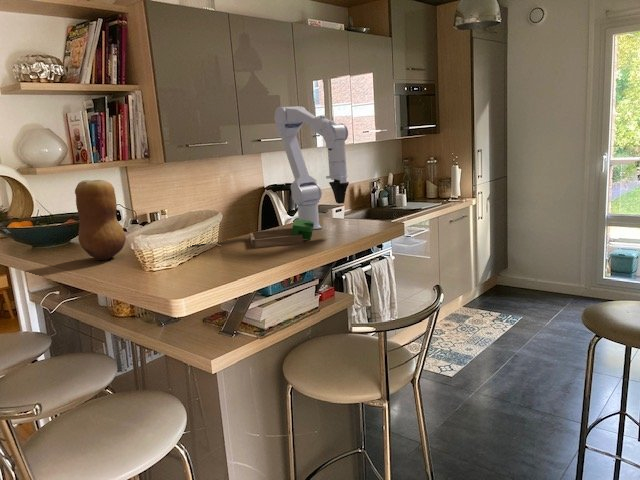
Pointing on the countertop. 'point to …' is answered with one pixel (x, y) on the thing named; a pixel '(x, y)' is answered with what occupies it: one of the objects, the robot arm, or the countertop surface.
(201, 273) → the countertop surface
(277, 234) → the tray
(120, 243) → the butternut squash
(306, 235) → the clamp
